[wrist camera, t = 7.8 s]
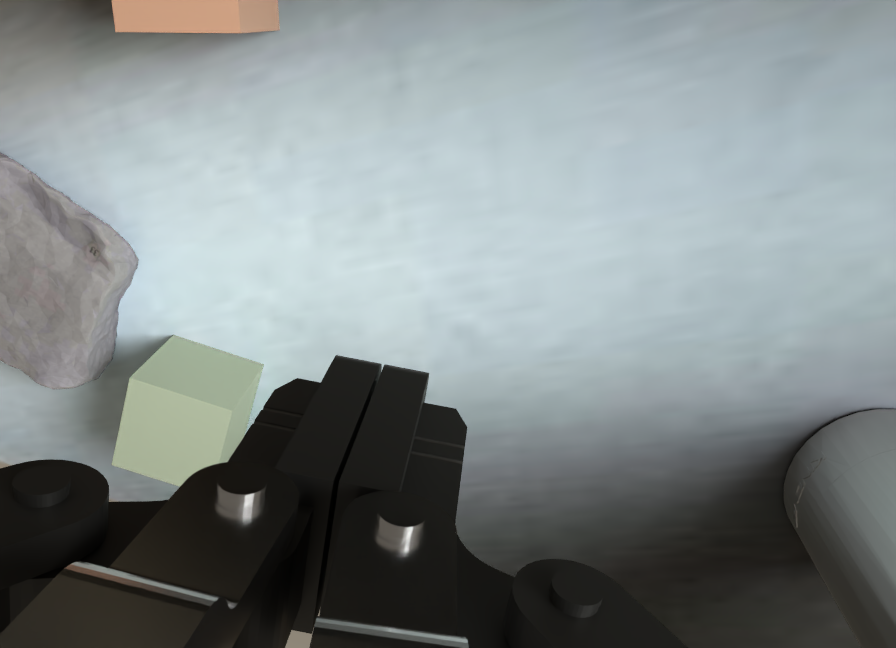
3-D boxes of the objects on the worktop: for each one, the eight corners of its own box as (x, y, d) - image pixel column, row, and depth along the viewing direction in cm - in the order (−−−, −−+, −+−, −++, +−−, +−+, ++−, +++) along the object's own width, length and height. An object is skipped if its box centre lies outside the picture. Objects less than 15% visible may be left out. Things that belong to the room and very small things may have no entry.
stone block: (-45, 119, 42) (-107, 295, 43) (-102, 114, 37) (-169, 311, 39) (174, 217, 43) (108, 383, 45) (147, 223, 39) (73, 409, 40)
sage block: (264, 364, 43) (232, 410, 38) (242, 441, 45) (210, 496, 40) (173, 334, 43) (129, 377, 38) (155, 413, 45) (111, 465, 40)
